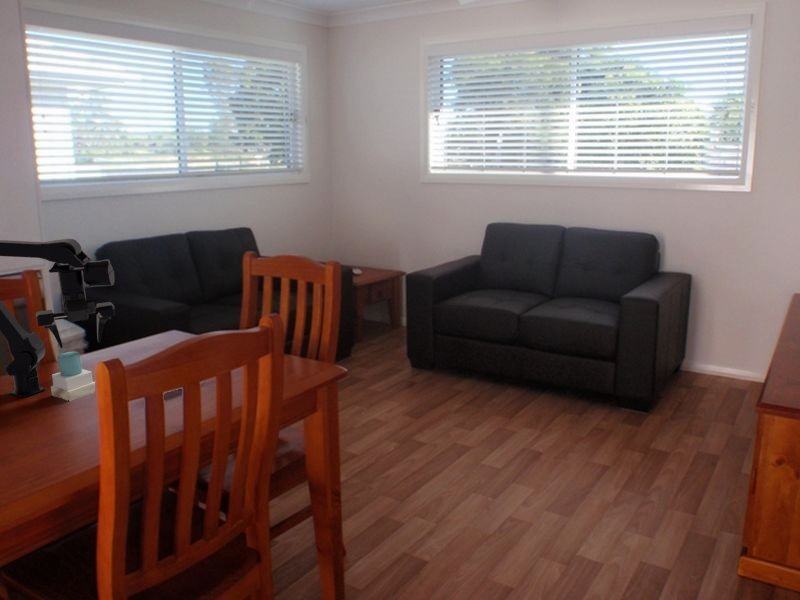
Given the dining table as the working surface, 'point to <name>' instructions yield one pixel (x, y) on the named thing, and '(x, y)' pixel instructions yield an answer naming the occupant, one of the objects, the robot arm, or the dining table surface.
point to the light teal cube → (69, 364)
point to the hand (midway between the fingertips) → (80, 344)
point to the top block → (72, 380)
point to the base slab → (73, 392)
